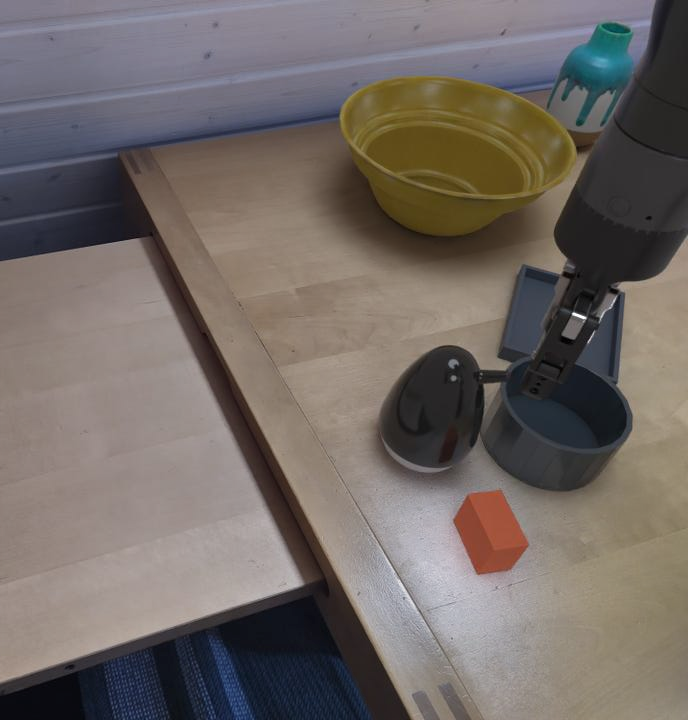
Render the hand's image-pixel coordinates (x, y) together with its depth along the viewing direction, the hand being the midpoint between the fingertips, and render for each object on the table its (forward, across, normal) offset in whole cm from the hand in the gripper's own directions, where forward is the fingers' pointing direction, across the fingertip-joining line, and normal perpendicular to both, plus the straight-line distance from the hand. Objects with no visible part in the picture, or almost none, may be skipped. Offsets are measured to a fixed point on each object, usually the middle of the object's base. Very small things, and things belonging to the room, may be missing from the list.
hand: (544, 360), depth 58 cm
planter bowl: (+22, +47, +21) cm, 56 cm away
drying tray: (+22, +31, -2) cm, 38 cm away
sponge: (+22, -4, -3) cm, 22 cm away
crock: (+22, +12, -5) cm, 25 cm away
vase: (+22, +79, +8) cm, 83 cm away
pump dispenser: (+22, +4, +7) cm, 23 cm away
